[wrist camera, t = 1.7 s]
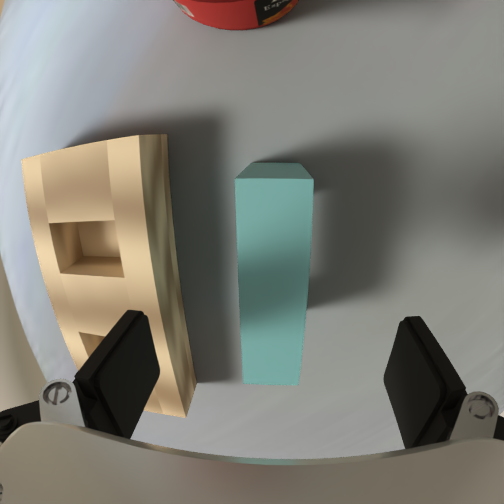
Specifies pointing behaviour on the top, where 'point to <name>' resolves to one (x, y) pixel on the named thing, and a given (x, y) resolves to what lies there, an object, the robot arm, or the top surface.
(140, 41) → the top surface
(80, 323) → the tan slotted block
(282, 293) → the teal long block
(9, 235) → the top surface
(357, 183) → the top surface
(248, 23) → the canned food
